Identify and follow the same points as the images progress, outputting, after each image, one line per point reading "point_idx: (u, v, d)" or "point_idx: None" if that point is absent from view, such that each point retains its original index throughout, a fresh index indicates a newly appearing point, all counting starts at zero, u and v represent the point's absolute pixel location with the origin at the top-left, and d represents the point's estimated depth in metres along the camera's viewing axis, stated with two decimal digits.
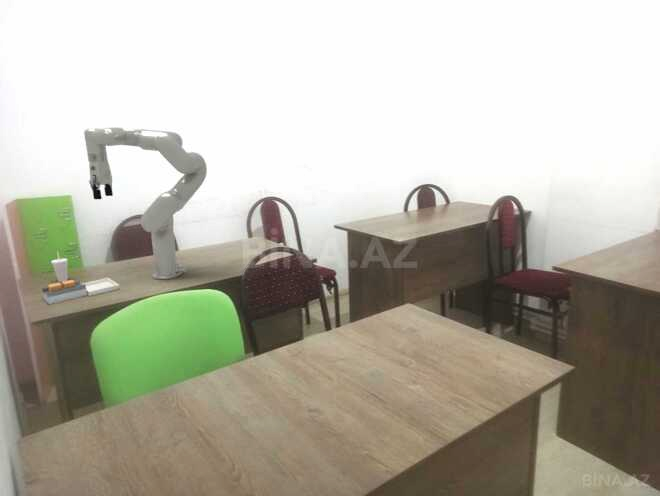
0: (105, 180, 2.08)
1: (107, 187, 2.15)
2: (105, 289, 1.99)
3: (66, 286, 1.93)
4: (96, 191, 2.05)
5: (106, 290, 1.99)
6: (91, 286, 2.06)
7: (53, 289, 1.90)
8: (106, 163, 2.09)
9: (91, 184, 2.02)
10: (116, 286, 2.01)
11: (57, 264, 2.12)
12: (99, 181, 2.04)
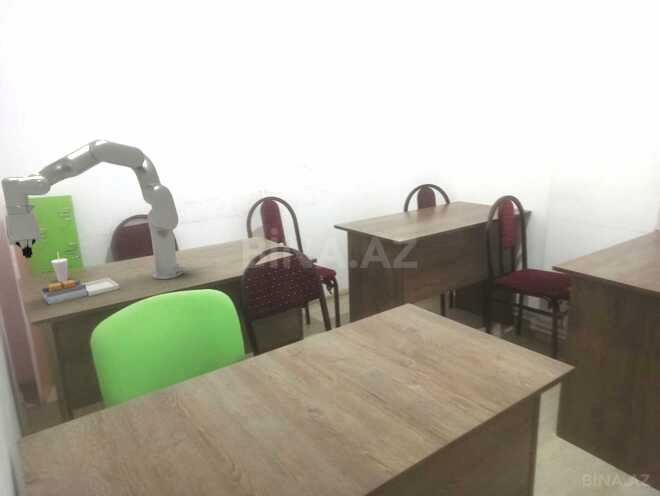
0: None
1: (26, 247, 1.83)
2: (105, 289, 1.99)
3: (66, 286, 1.93)
4: None
5: (106, 290, 1.99)
6: (91, 286, 2.06)
7: (53, 289, 1.90)
8: None
9: (36, 241, 1.85)
10: (116, 286, 2.01)
11: (57, 264, 2.12)
12: None
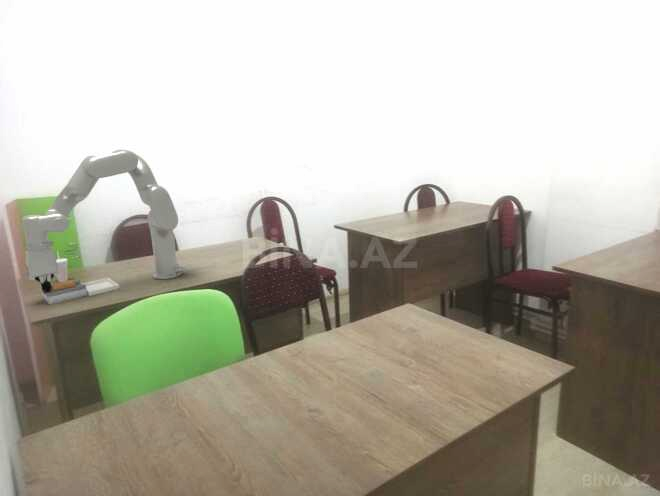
0: None
1: (45, 282, 1.90)
2: (105, 289, 1.99)
3: (66, 286, 1.93)
4: None
5: (106, 290, 1.99)
6: (91, 286, 2.06)
7: (55, 288, 1.91)
8: None
9: None
10: (116, 286, 2.01)
11: (57, 264, 2.12)
12: None
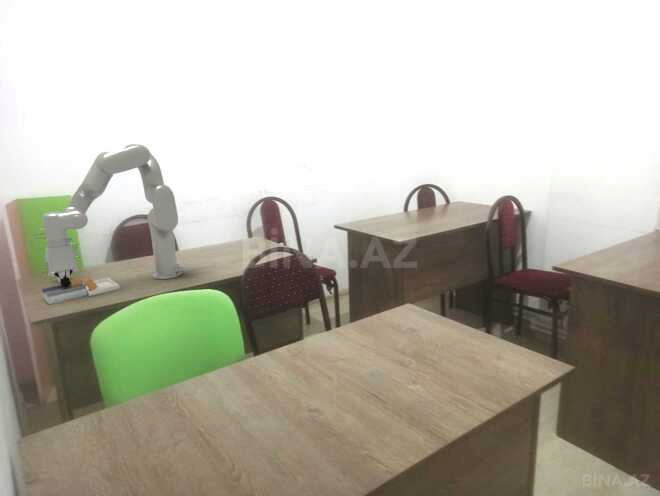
0: None
1: (64, 278, 1.94)
2: (105, 289, 1.99)
3: (90, 282, 1.99)
4: None
5: (106, 290, 1.99)
6: None
7: (74, 284, 1.95)
8: None
9: None
10: (116, 286, 2.01)
11: None
12: None
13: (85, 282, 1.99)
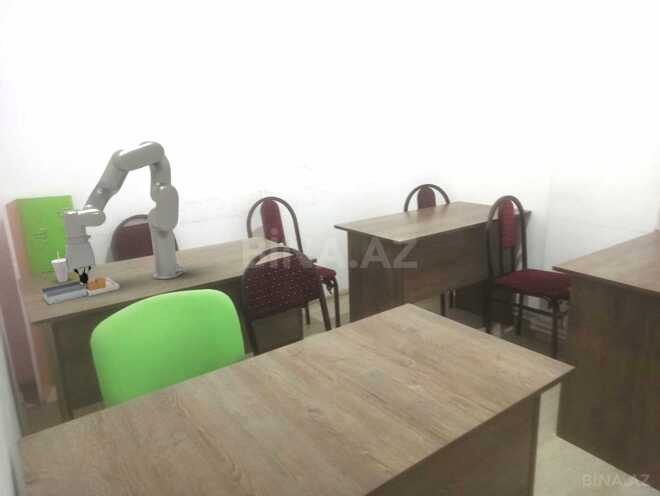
0: None
1: (82, 274, 1.98)
2: (105, 289, 1.99)
3: (102, 280, 2.02)
4: None
5: (106, 290, 1.99)
6: None
7: (90, 287, 1.99)
8: None
9: None
10: (116, 286, 2.01)
11: (57, 264, 2.12)
12: None
13: (97, 279, 2.02)
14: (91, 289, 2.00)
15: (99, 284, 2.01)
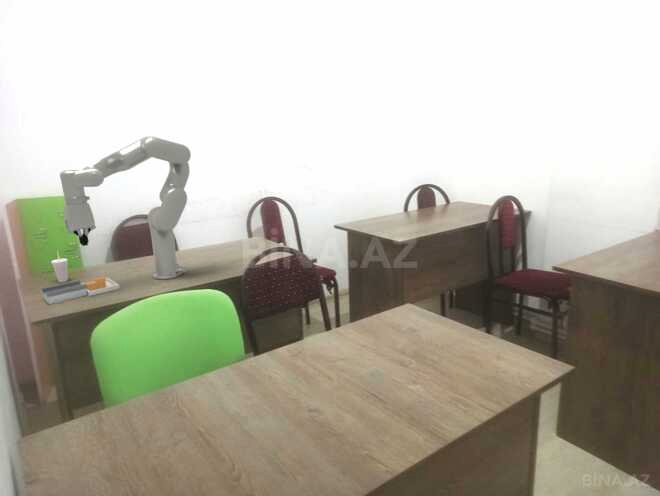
0: None
1: None
2: (105, 289, 1.99)
3: (102, 280, 2.02)
4: None
5: (106, 290, 1.99)
6: None
7: (90, 287, 1.99)
8: None
9: None
10: (116, 286, 2.01)
11: (57, 264, 2.12)
12: None
13: (97, 279, 2.02)
14: (91, 289, 2.00)
15: (99, 284, 2.01)
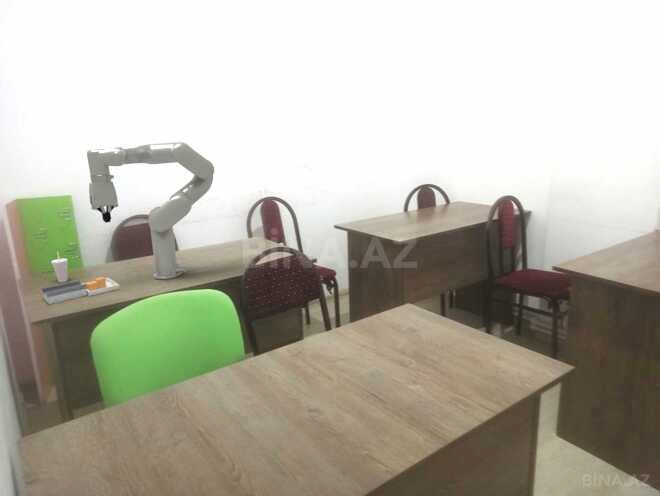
0: None
1: None
2: (105, 289, 1.99)
3: (102, 280, 2.02)
4: None
5: (106, 290, 1.99)
6: None
7: (90, 287, 1.99)
8: None
9: (114, 207, 2.07)
10: (116, 286, 2.01)
11: (57, 264, 2.12)
12: None
13: (97, 279, 2.02)
14: (91, 289, 2.00)
15: (99, 284, 2.01)
